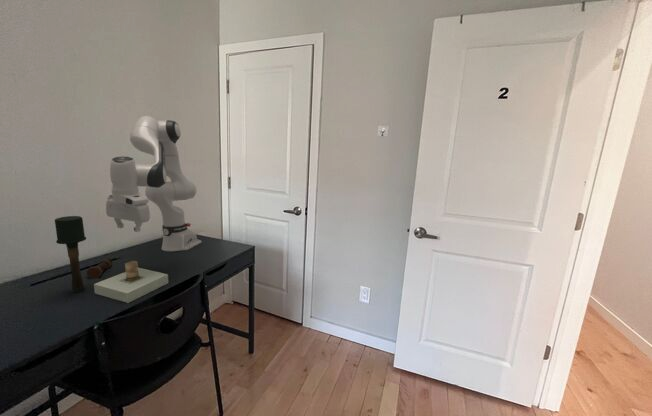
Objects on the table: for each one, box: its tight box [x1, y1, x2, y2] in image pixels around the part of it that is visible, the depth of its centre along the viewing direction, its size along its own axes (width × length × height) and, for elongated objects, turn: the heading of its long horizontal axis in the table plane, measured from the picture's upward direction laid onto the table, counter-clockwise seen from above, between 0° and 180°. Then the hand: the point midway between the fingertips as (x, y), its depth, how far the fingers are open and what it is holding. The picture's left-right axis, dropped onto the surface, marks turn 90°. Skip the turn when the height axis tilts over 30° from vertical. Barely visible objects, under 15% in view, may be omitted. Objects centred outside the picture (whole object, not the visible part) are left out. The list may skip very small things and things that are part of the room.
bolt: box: [85, 258, 113, 279], centre depth 130 cm, size 6×5×15 cm
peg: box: [124, 260, 139, 282], centre depth 115 cm, size 4×4×11 cm
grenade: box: [54, 215, 87, 293], centre depth 109 cm, size 8×9×30 cm
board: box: [93, 267, 169, 304], centre depth 116 cm, size 18×18×4 cm
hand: (128, 229), depth 117 cm, fingers open, 8 cm apart
